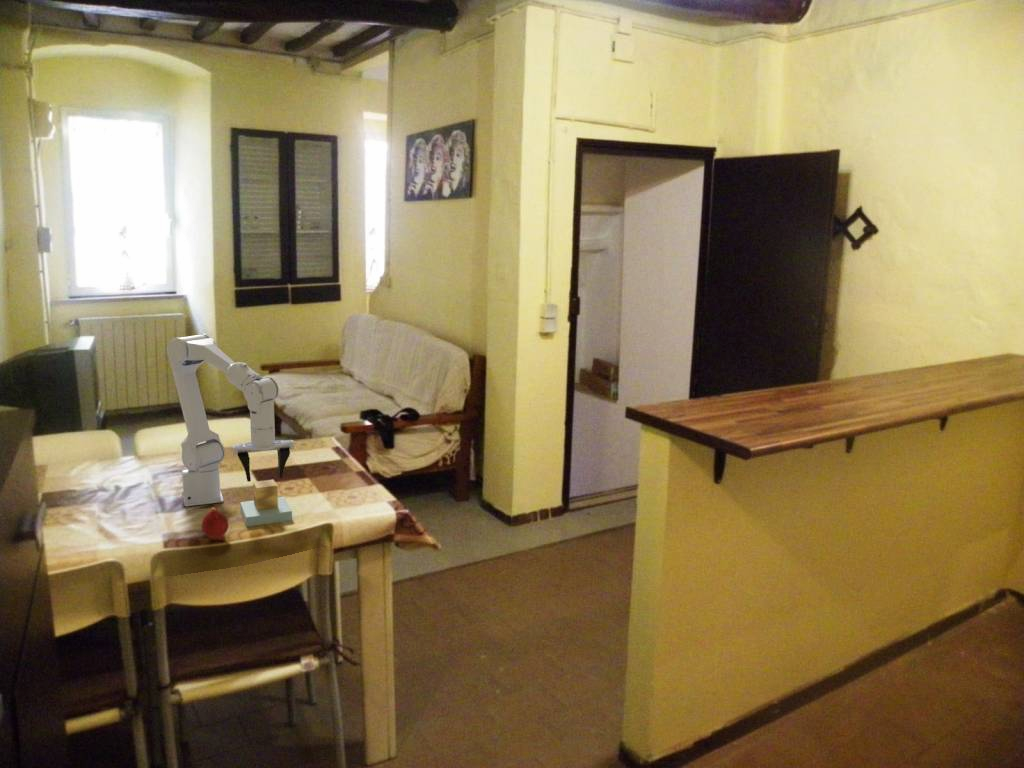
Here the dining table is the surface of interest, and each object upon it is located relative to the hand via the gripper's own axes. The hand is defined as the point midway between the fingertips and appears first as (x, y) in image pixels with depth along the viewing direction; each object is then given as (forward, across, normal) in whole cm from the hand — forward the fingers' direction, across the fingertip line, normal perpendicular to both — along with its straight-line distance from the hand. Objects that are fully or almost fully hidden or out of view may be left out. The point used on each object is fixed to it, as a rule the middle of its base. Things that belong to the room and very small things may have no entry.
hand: (264, 478), depth 195 cm
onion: (+10, -13, -11) cm, 20 cm away
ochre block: (+8, 0, 0) cm, 8 cm away
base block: (+10, 0, 0) cm, 11 cm away
